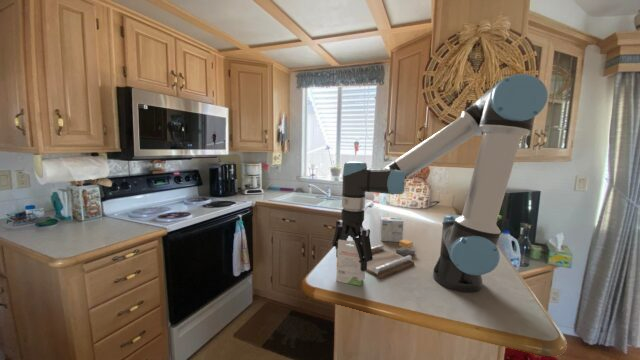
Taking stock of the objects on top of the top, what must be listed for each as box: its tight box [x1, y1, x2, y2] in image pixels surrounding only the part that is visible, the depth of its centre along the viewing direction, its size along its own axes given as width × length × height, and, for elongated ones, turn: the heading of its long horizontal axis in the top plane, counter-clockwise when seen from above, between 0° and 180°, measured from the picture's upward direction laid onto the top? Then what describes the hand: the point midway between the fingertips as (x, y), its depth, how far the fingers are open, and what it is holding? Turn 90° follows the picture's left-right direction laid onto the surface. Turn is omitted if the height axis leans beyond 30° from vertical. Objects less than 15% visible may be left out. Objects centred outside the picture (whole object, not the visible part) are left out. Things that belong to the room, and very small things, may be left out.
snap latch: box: [398, 239, 414, 249], centre depth 114 cm, size 4×4×2 cm
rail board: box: [365, 249, 415, 279], centre depth 105 cm, size 18×20×1 cm
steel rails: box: [371, 243, 413, 274], centre depth 105 cm, size 15×20×2 cm
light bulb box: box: [379, 216, 404, 243], centre depth 132 cm, size 11×7×11 cm, turn 84°
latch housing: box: [395, 246, 416, 257], centre depth 115 cm, size 6×6×2 cm
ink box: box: [335, 239, 364, 287], centre depth 89 cm, size 9×5×15 cm, turn 70°
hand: (350, 273), depth 89 cm, fingers closed on ink box, 9 cm apart
